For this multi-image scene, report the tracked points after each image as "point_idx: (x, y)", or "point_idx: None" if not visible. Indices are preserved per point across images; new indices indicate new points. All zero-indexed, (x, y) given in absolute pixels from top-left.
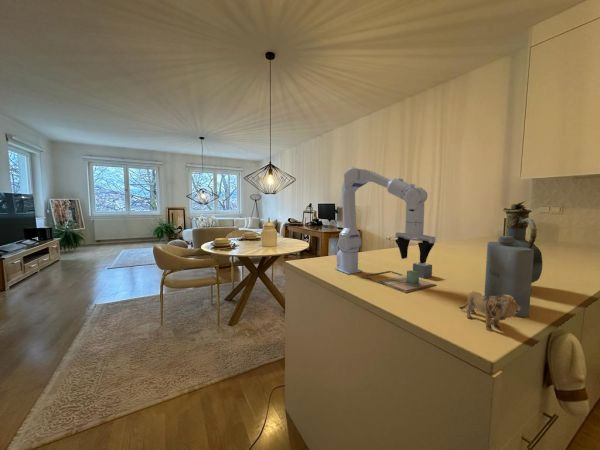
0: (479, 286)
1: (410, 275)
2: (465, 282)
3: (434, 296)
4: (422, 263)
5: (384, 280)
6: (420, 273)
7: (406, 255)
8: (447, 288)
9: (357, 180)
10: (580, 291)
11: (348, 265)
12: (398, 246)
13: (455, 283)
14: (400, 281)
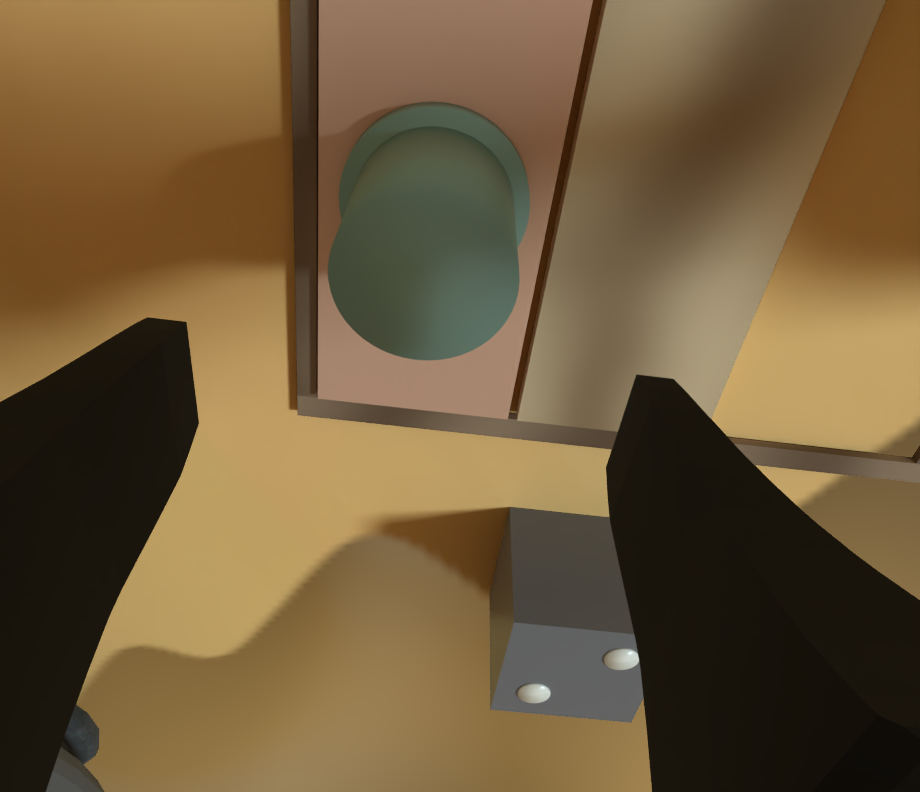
0: (116, 616)
1: (408, 171)
2: (233, 632)
3: (32, 36)
4: (592, 696)
5: (819, 9)
6: (553, 547)
7: (617, 505)
8: None
9: None
10: None
11: None
12: (863, 570)
13: (253, 568)
14: (609, 178)
